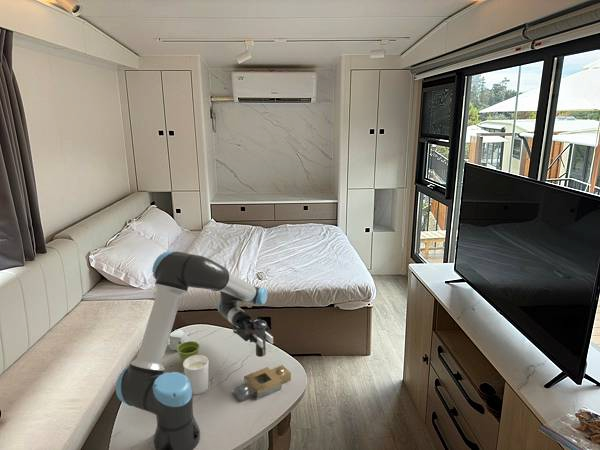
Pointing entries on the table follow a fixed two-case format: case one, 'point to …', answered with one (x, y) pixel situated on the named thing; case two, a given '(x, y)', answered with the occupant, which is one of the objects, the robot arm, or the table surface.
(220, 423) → the table surface
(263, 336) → the black pin
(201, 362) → the candle holder
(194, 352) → the plant pot
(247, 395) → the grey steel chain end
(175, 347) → the skincare box
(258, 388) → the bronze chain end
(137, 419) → the table surface
